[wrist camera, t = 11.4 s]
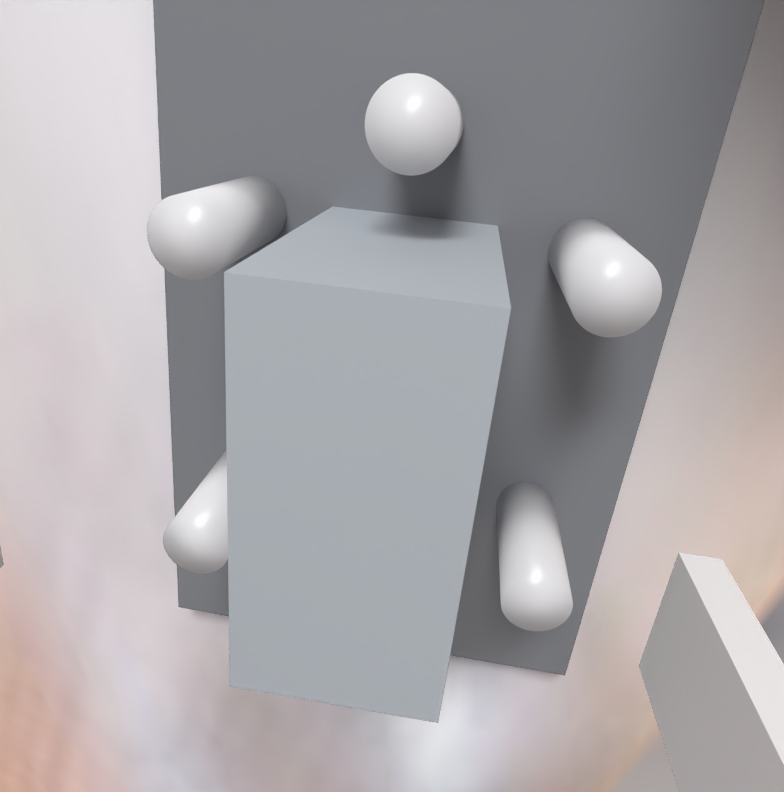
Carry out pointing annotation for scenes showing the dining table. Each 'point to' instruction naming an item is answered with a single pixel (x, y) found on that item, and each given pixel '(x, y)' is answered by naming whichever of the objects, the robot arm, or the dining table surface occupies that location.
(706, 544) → the dining table surface
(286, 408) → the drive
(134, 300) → the dining table surface
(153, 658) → the dining table surface
